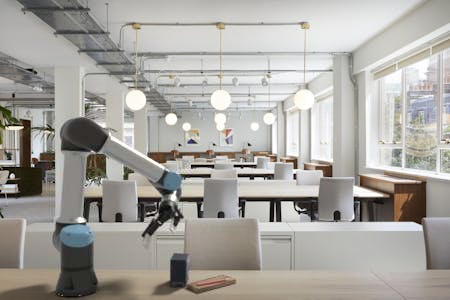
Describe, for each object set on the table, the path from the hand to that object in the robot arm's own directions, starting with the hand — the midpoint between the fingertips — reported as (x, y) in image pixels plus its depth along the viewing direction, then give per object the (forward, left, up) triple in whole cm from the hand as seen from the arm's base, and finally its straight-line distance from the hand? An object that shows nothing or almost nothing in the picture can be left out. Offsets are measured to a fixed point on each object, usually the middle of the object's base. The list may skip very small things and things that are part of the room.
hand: (158, 238), depth 168 cm
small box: (+3, +8, -18) cm, 20 cm away
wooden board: (+13, +15, -18) cm, 27 cm away
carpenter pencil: (+15, +14, -16) cm, 26 cm away
